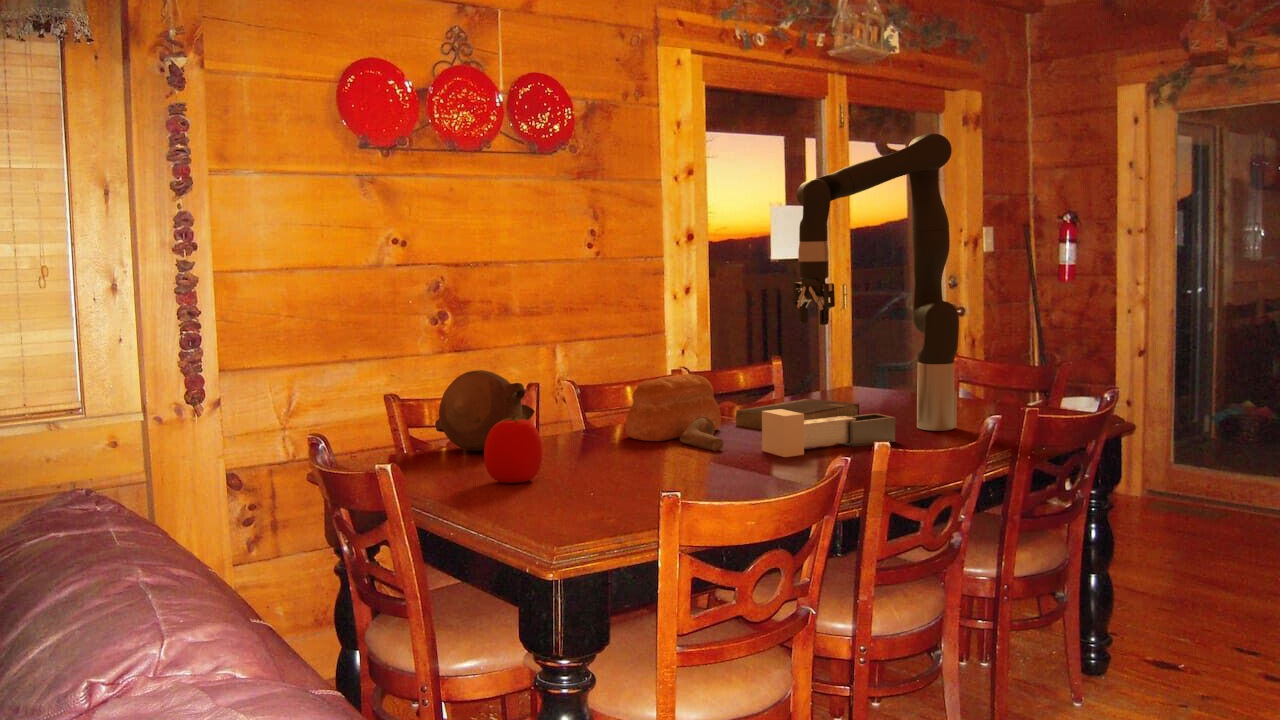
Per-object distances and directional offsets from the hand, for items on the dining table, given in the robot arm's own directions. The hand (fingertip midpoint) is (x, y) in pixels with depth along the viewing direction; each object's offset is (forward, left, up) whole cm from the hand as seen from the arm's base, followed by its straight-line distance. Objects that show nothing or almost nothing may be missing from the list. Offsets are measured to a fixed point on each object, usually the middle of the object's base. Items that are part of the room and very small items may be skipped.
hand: (813, 323), depth 271 cm
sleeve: (-2, +17, -28) cm, 33 cm away
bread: (+30, -19, -28) cm, 46 cm away
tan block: (+22, +17, -28) cm, 39 cm away
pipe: (+31, -1, -29) cm, 42 cm away
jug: (+77, -28, -28) cm, 86 cm away
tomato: (+86, +12, -28) cm, 92 cm away
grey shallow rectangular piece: (-6, -15, -29) cm, 33 cm away
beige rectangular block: (+12, +17, -28) cm, 35 cm away
